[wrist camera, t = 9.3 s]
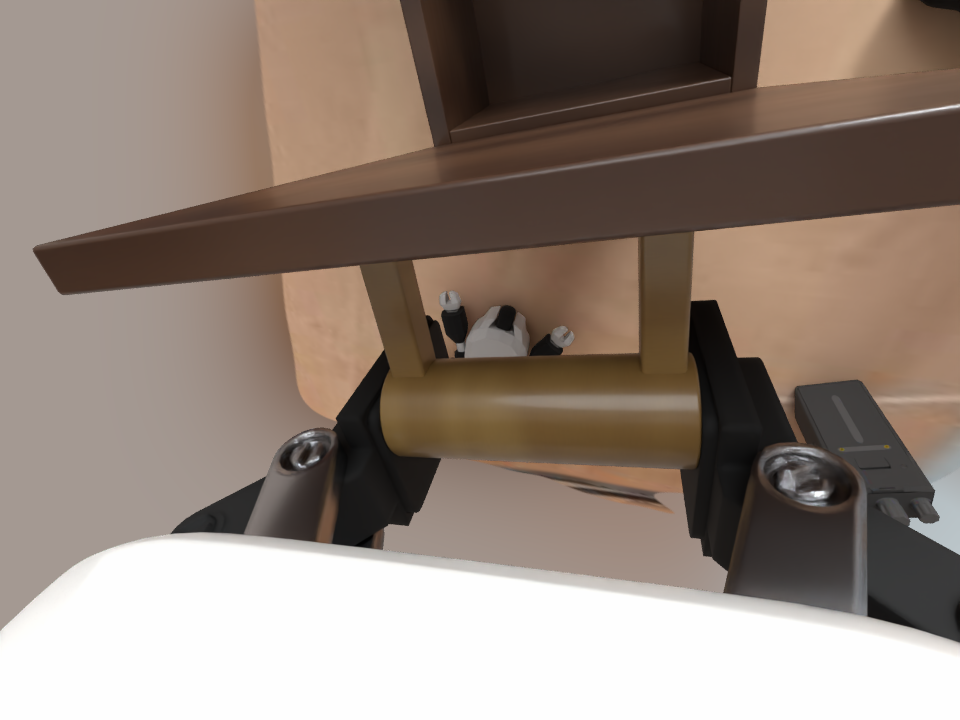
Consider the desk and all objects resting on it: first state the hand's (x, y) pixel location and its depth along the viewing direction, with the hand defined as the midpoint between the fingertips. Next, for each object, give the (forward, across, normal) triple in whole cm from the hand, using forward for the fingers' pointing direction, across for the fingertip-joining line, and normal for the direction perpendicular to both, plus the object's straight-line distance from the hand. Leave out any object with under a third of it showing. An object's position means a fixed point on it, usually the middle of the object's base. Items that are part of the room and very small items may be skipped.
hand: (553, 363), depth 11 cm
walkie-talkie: (+24, -17, +21) cm, 36 cm away
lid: (+4, 0, -4) cm, 6 cm away
